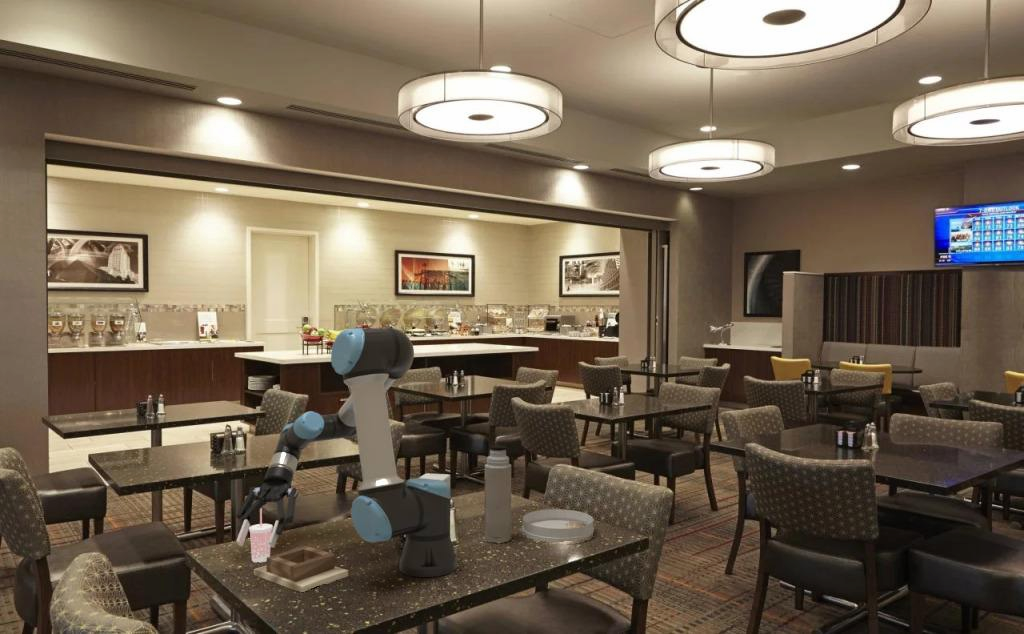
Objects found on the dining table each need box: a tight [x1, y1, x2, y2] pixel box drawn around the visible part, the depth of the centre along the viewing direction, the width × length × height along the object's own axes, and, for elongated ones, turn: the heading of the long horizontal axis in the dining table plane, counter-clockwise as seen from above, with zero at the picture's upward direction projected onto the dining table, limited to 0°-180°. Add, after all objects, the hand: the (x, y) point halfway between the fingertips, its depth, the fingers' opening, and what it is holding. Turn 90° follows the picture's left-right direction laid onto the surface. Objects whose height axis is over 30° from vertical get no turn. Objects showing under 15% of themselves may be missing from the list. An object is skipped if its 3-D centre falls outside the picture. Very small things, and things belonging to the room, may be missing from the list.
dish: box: [521, 508, 595, 542], centre depth 217 cm, size 22×22×5 cm
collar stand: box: [253, 545, 349, 593], centre depth 181 cm, size 20×14×5 cm
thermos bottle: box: [484, 444, 512, 543], centre depth 211 cm, size 8×8×28 cm
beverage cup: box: [248, 507, 274, 563], centre depth 193 cm, size 6×6×14 cm
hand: (255, 544), depth 189 cm, fingers open, 8 cm apart
